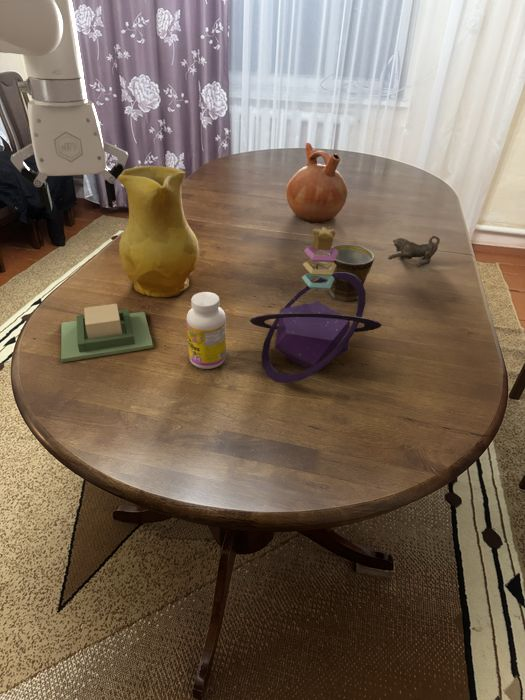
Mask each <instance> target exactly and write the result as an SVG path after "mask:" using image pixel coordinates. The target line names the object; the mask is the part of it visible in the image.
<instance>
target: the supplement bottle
mask: <svg viewBox="0 0 525 700" xmlns="http://www.w3.org/2000/svg"><path fill="white" fill-rule="evenodd" d="M220 303H221V302H220V297H219V295H217V294H216V293H214V292H212V291H211V292H210V291H201V292H198V293H195V294H194V295H192V297H191V299H190V304H191V305H190V306H191V308H190V309H189V310H188V312H187V314H186V328H187V329H186V330H187V344H188V359H189V361H190V363H191V364H192V365H193V366H195V367H196V368H198V369H203V370H210V369H215V368H218V367H219V366H221V365H222V364H224V362H225V360H226V354H227V353H226V352H227V350H226V349H227V347H226V343H227V342H226V339H227V337H226V336H227V335H226V313H225V311H224V310H223V308H222V307H220V305H221V304H220Z"/></svg>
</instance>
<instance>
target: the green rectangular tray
mask: <svg viewBox="0 0 525 700" xmlns="http://www.w3.org/2000/svg"><path fill="white" fill-rule="evenodd" d="M118 312H119V318H120V324H121V330H122V334H121V335H114V336H107V337H101V338H94V339H88V335H87V330H86V326H85V314H81V315H76V320H72V321H64V322H61V324H60V325H61V326H60V327H61V330H60V332H61V335H60V337H61V339H60V340H61V342H60V344H61V345H60V351H61V352H60V360H61V363H67V362H73V361H80V360H86V359H93V358H100V357H106V356H111V355H119V354H124V353H131V352H138V351H144V350H149V349H153V348H154V344H153V340H152V336H151V332H150V328H149V325H148V321H147V316H146V313H145V311H138V312H131V313H130V311H129V308H125V309H118Z"/></svg>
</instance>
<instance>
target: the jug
mask: <svg viewBox="0 0 525 700" xmlns="http://www.w3.org/2000/svg"><path fill="white" fill-rule="evenodd" d="M305 154H306V162H307V163H306V166H304V167H302V168H300V169H299V170H297V171H296V173H294V175H293V176H292V177H291V178H290V180H289V181H288V183H287V185H286V202H287V204H288V206H289V208H290V209H291V211H292V212H293V214H294V215H295V217H297V219H298V220H300V221H303V222H305V223H309V224H325V223H330V222H331V221H332V220H333V219H334V218H335V217H336V216H337V215H338V214H339V213H340V211H342V209H343V207H345V204H346V201H347V198H348V187H347V185H346V182H345V179H344V178H343V176H342V175H341V174H340V172H339V171H338V170H337V168H338V165H339V163H340V161H341V157H340V156H339V154H338V153H332V154H331V155H330V154H329V153H327V152H326V151H325V150H317V149H315V148H313V145H312V144H311V142H306V143H305ZM319 157H321V158H322V159H323V161H324V164H322V163H319V162H318V158H319Z"/></svg>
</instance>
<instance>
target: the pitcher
mask: <svg viewBox="0 0 525 700" xmlns="http://www.w3.org/2000/svg"><path fill="white" fill-rule="evenodd" d="M186 174H187V173H186V171H183V170H182V169H179V168H176V167H172V166H159V165H143V166H141V165H140V166H135V167H134V166H133V167H130V168H126V169H124V170H123V172H122V173H121V174H120V176H119V177H118V178H117V179H116V180H118V181H119V183H120V184H121V185H122V186H123V187H124V188H125V191H126V195H127V201H128V221H127V224H126V227H125V229H124V230H123V231H122V233H121V236H120V238H119V243H118V252H119V258H120V263H121V266H122V268H123V272H124V273H125V275H126V277H127V279H129V280H130V281H132V282H133V288H134V290H135V292H138V293H140V294H141V295H146V296H148V297H154V298H155V297H156V298H170V297H171V298H172V297H176V296H178V295H180V294H181V293H183V292H185V291H186V289H187V288H188V287H189V286H190V283H189V282H190V279H189V275H190V274H191V273H192V272H193V271H195V270H196V269H197V265H198V262H199V261H198V260H199V257H200V247H199V241H198V237H197V236H196V234H195V232H194V231H193V230H192V228H191V227H190V225H189V223H188V220H187V219H186V217H185V212H184V208H183V207H184V206H183V200H182V186H183V182H184V181H185V178H186V176H187V175H186Z"/></svg>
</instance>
